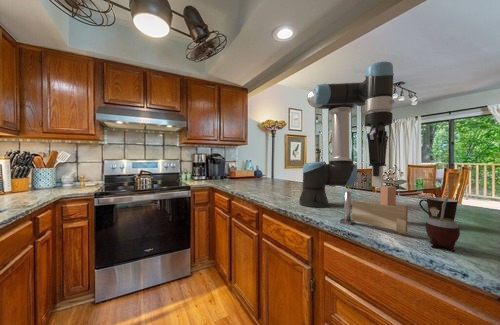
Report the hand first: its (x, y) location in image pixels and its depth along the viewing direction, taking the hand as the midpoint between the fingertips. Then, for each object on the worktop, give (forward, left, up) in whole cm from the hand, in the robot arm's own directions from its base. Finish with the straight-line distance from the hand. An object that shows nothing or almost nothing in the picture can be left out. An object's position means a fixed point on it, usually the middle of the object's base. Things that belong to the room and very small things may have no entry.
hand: (377, 186), depth 67 cm
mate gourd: (-4, +15, -16) cm, 23 cm away
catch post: (-22, -2, -16) cm, 27 cm away
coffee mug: (-32, +12, -16) cm, 38 cm away
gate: (-7, -2, -15) cm, 17 cm away
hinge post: (-7, -12, -16) cm, 21 cm away
